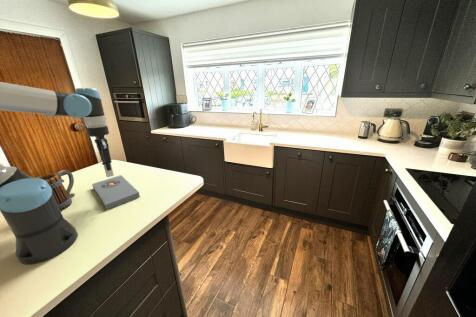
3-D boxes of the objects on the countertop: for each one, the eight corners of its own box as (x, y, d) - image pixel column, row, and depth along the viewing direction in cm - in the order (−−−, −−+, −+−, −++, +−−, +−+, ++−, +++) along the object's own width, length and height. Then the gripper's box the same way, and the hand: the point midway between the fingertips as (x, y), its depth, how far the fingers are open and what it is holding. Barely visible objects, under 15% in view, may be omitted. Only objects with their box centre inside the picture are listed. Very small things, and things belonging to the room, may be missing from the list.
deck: (140, 196, 95) (138, 192, 94) (106, 209, 86) (105, 204, 85) (122, 178, 114) (121, 175, 113) (93, 188, 105) (91, 184, 104)
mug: (55, 215, 83) (40, 184, 78) (35, 213, 85) (20, 182, 80) (87, 195, 98) (77, 168, 92) (70, 194, 100) (59, 167, 94)
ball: (105, 186, 100) (107, 187, 103) (111, 189, 101) (113, 190, 104) (109, 181, 102) (111, 182, 105) (115, 184, 102) (117, 185, 105)
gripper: (110, 126, 83) (123, 177, 91) (103, 123, 91) (115, 170, 99) (89, 129, 78) (104, 183, 86) (83, 125, 86) (97, 174, 94)
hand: (110, 175), depth 92 cm, fingers closed
